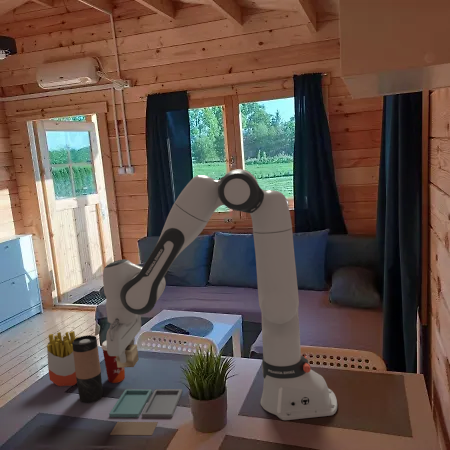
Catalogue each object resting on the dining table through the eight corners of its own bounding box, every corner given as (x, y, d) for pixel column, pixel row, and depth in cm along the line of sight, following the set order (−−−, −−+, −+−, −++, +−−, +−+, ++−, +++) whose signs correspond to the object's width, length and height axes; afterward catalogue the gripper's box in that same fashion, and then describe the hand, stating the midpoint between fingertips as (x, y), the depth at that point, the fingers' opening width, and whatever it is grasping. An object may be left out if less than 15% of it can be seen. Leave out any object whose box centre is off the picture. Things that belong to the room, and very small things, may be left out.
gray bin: (182, 393, 142) (182, 389, 142) (172, 419, 129) (171, 414, 129) (155, 393, 144) (155, 389, 143) (142, 418, 130) (141, 414, 130)
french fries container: (81, 385, 152) (74, 335, 150) (50, 387, 153) (43, 337, 150) (85, 379, 157) (79, 330, 154) (55, 380, 157) (49, 332, 155)
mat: (158, 424, 127) (157, 422, 127) (152, 437, 121) (151, 435, 121) (117, 423, 128) (117, 421, 128) (110, 436, 123) (109, 434, 122)
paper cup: (122, 386, 150) (117, 347, 148) (101, 385, 152) (96, 346, 150) (131, 374, 158) (127, 337, 156) (111, 374, 159) (107, 337, 157)
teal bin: (152, 393, 144) (152, 389, 144) (138, 418, 130) (138, 414, 130) (125, 393, 145) (125, 389, 145) (109, 418, 131) (109, 413, 131)
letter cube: (138, 359, 138) (136, 343, 137) (133, 367, 133) (131, 350, 132) (123, 360, 138) (121, 344, 138) (117, 367, 133) (115, 351, 133)
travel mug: (108, 396, 144) (101, 338, 141) (88, 407, 138) (80, 346, 135) (94, 389, 149) (87, 333, 146) (74, 400, 143) (66, 341, 140)
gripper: (119, 326, 123) (125, 373, 125) (142, 302, 143) (147, 342, 145) (98, 327, 123) (104, 373, 125) (123, 303, 143) (128, 343, 145)
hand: (127, 356), depth 135 cm, fingers closed on letter cube, 5 cm apart
